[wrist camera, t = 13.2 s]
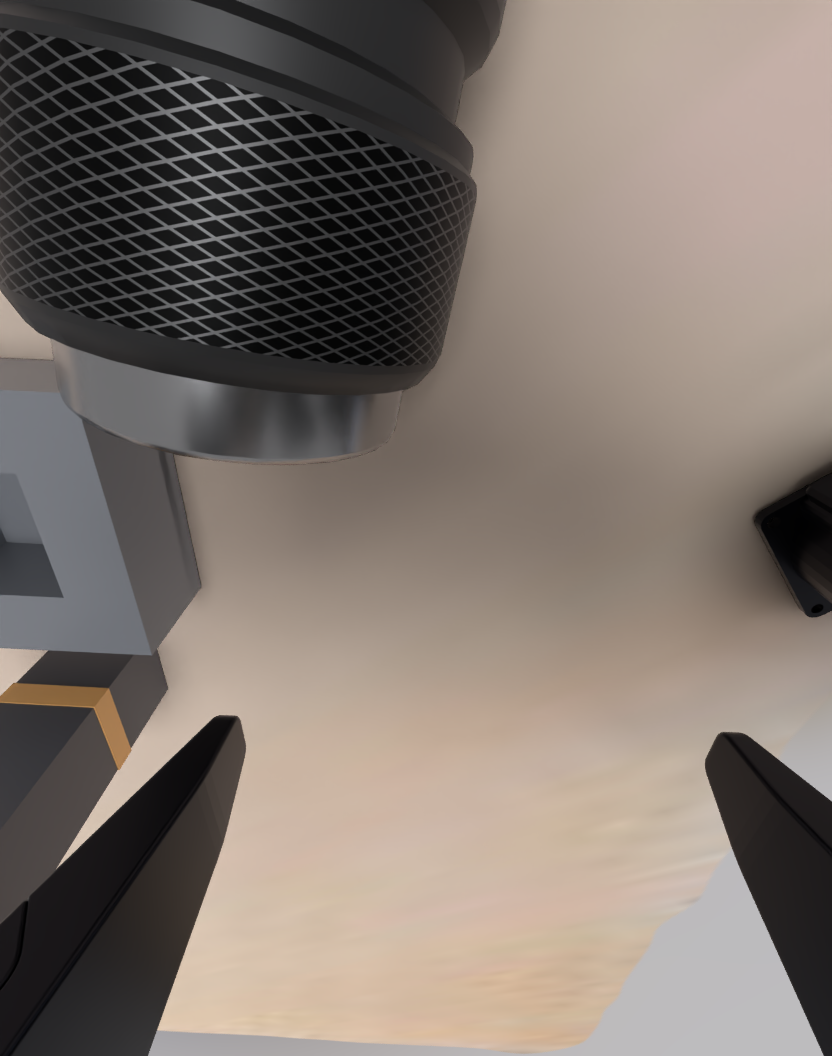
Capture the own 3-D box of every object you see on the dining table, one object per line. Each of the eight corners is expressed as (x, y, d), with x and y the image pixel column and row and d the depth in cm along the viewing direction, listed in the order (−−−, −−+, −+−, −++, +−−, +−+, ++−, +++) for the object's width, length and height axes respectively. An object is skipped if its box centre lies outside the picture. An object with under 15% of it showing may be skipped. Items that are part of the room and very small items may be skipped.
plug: (152, 630, 24) (-37, 878, 14) (169, 689, 26) (12, 942, 16) (70, 626, 24) (-176, 871, 14) (93, 685, 26) (-109, 936, 16)
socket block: (153, 365, 18) (73, 393, 14) (201, 586, 22) (152, 655, 18) (-117, 352, 18) (-275, 376, 14) (-12, 576, 22) (-106, 642, 18)
